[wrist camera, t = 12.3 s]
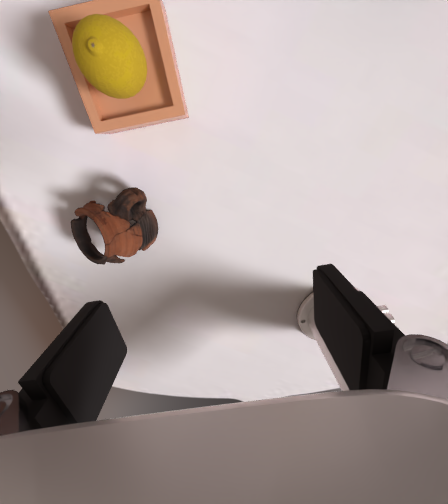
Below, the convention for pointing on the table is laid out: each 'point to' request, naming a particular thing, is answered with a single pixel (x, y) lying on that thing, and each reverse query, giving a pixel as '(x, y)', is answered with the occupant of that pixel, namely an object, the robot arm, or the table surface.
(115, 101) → the orange square tray
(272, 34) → the table surface
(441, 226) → the table surface
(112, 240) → the pottery mug
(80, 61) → the lemon
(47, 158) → the table surface
